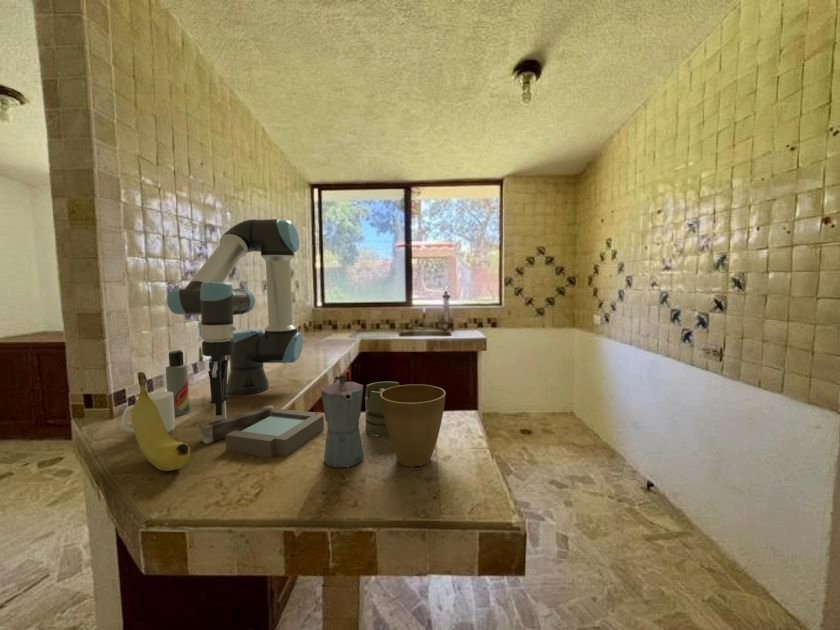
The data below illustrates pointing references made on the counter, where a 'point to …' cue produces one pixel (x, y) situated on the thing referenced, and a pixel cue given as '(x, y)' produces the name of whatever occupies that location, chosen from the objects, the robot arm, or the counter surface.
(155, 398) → the cup
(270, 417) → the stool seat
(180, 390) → the lotion bottle
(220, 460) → the counter surface
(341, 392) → the moka pot
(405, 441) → the plant pot
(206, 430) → the folding leg
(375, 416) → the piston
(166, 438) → the banana
